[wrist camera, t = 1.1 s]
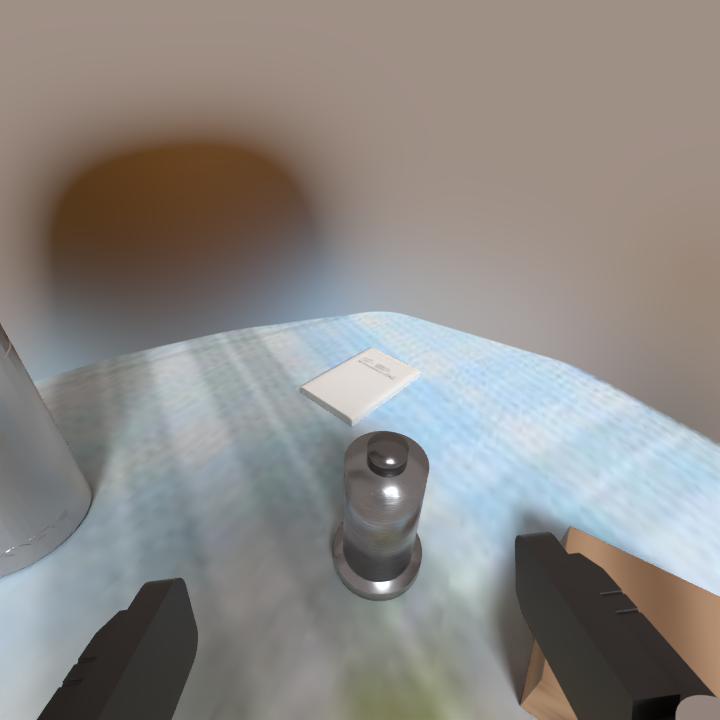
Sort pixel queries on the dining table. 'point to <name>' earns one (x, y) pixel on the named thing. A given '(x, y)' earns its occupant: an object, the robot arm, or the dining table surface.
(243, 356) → the dining table surface
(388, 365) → the external hard drive
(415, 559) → the cylinder
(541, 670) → the stand
